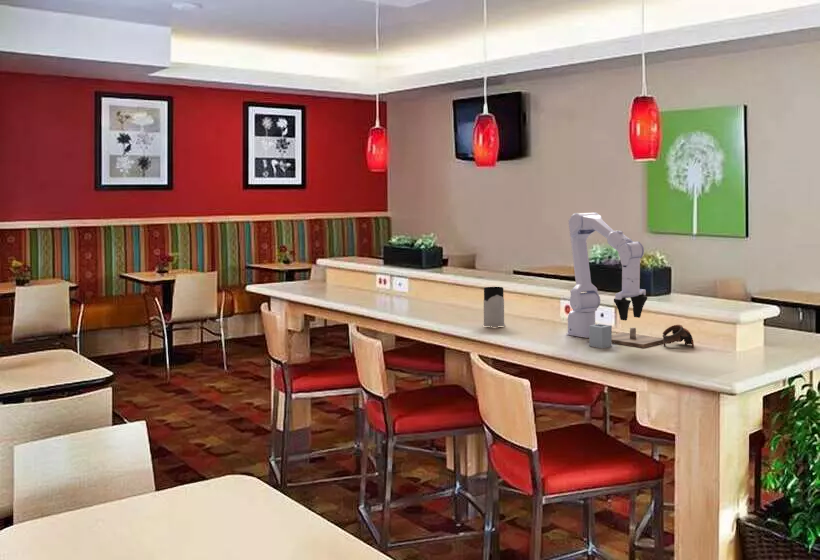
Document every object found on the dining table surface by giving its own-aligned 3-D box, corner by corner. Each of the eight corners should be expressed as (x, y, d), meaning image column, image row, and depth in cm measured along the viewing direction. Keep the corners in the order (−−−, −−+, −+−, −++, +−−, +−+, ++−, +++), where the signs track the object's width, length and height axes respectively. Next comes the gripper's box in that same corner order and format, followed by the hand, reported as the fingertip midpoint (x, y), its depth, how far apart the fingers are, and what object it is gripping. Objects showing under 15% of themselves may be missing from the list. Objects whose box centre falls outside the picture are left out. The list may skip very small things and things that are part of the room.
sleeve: (589, 346, 291) (589, 325, 290) (598, 344, 294) (599, 323, 294) (601, 348, 287) (602, 327, 286) (611, 346, 291) (611, 325, 290)
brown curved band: (698, 350, 283) (687, 330, 281) (670, 362, 286) (659, 341, 284) (693, 335, 293) (683, 315, 292) (667, 346, 297) (656, 326, 295)
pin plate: (598, 340, 300) (598, 327, 299) (623, 335, 309) (623, 322, 308) (643, 347, 286) (643, 334, 286) (667, 342, 295) (667, 328, 295)
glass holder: (487, 328, 329) (486, 289, 327) (475, 323, 342) (474, 285, 341) (508, 327, 331) (508, 288, 329) (496, 321, 345) (495, 284, 343)
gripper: (628, 281, 280) (627, 322, 281) (653, 277, 289) (653, 317, 291) (610, 279, 285) (609, 320, 287) (635, 275, 294) (635, 315, 296)
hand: (630, 318), depth 289 cm, fingers open, 7 cm apart
